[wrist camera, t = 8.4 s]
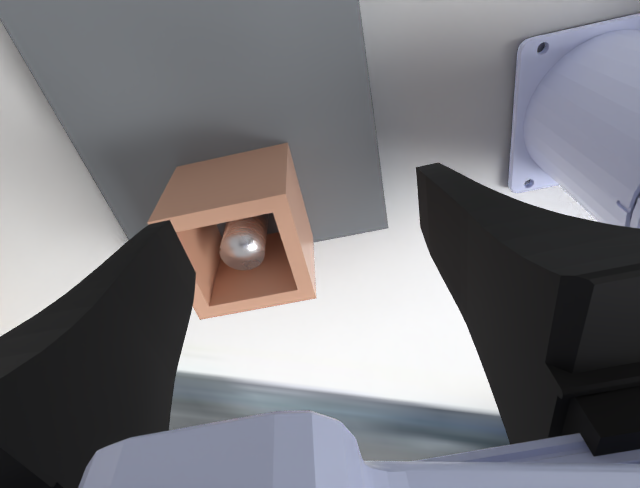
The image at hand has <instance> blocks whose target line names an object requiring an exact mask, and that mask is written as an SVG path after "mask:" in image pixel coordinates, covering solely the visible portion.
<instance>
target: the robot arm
mask: <svg viewBox="0 0 640 488" xmlns="http://www.w3.org/2000/svg"><path fill="white" fill-rule="evenodd" d="M543 42H545V47H544V49H543V50H542V51H541V52H539V53H537V49H538V46H539V45H540V44H541V43H543ZM416 172H417V186H418V200H419V213H420V227H421V230H422V233H423V236H424V239H425V242H426V244H427V247H428V250H429V252H430V255H431V257H432V259H433V261H434V263H435V265H436V267H437V268H438V270H439V272H440V274H441V276H442V278H443V280H444V282H445V284H446V285H447V287H448V289H449V291H450V293H451V295H452V297H453V299H454V300H455V302H456V304H457V306H458V308H459V310H460V312H461V314H462V316H463V318H464V320H465V322H466V324H467V327H468V329H469V332H470V334H471V337H472V340H473V342H474V345H475V347H476V350H477V352H478V355H479V357H480V360H481V363H482V366H483V368H484V371H485V374H486V376H487V379H488V382H489V384H490V387H491V390H492V393H493V396H494V398H495V401H496V404H497V407H498V410H499V413H500V415H501V418H502V421H503V424H504V427H505V430H506V433H507V436H508V439H509V442H510V445H505V446H499V447H493V448H487V449H481V450H475V451H469V452H463V453H457V454H451V455H445V456H439V457H433V458H427V459H421V460H415V461H363V459H362V457H361V454H360V450H359V447H358V443H357V440H356V438H355V437H354V436H353V435H352V433H351V432H350V431H349V430H348V429H347V428H346V427H345V425H344V424H343V423H342V422H340V421H338V420H337V419H334V418H331V417H328V416H325V415H322V414H319V413H316V412H312V411H309V410H308V411H275V412H270V413H264V414H258V415H253V416H247V417H242V418H236V419H230V420H225V421H219V422H214V423H208V424H202V425H197V426H191V427H186V428H180V429H174V430H169V422H170V412H171V404H172V396H173V389H174V381H175V376H176V371H177V366H178V362H179V358H180V354H181V350H182V347H183V343H184V339H185V335H186V331H187V327H188V323H189V319H190V315H191V311H192V306H193V302H194V293H195V281H196V272H195V270H194V268H193V266H192V264H191V262H190V260H189V258H188V256H187V254H186V252H185V250H184V248H183V246H182V244H181V242H180V240H179V238H178V236H177V234H176V232H175V230H174V228H173V226H172V224H171V222H170V220H167V221H162V222H157V223H153V224H149V225H148V226H146V227H145V228H143V229H142V230H141V231H139V232H138V233H137V234H136V235H135V236H133V237H132V238H131V239H130V240H129V241H128V242H126V243H125V244H124V245H123V246H122V247H121V248H120V249H119V250H117V251H116V252H115V253H114V254H113V255H112V256H111V257H109V258H108V259H107V260H106V261H105V262H104V263H103V264H101V265H100V266H99V267H98V268H97V269H96V270H94V271H93V272H92V273H91V274H89V275H88V276H87V277H86V278H85V279H83V280H82V281H81V282H80V283H79V284H77V285H76V286H75V287H74V288H72V289H71V290H70V291H69V292H67V293H66V294H65V295H63V296H62V297H61V298H59V299H58V300H56V301H55V302H54V303H52V304H51V305H49V306H48V307H46V308H45V309H44V310H42V311H41V312H39V313H38V314H36V315H35V316H33V317H32V318H30V319H28V320H27V321H25V322H24V323H22V324H20V325H19V326H17V327H15V328H14V329H12V330H10V331H9V332H7V333H5V334H4V335H2V336H1V337H0V488H640V13H638V14H633V15H629V16H625V17H620V18H616V19H611V20H607V21H602V22H598V23H593V24H589V25H584V26H580V27H575V28H571V29H566V30H562V31H557V32H553V33H548V34H544V35H539V36H535V37H530V38H528V39H525V40H524V41H523V42H522V43H521V44H520V46H519V47H518V51H517V64H516V78H515V92H514V107H513V121H512V136H511V150H510V164H509V179H508V187H509V188H510V189H511V191H512V192H514V193H521V192H526V191H531V190H537V189H542V188H547V187H552V186H557V185H560V186H561V187H562V188H563V189H564V190H565V191H566V192H567V193H568V194H569V195H570V196H572V197H573V198H574V199H575V200H576V201H577V202H578V203H579V204H580V205H581V206H582V207H583V208H584V209H585V210H586V211H588V212H589V213H590V214H591V215H592V216H593V217H594V218H595V219H596V220H597V221H598V222H595V221H590V220H586V219H581V218H577V217H572V216H568V215H564V214H560V213H556V212H553V211H549V210H546V209H543V208H540V207H536V206H533V205H530V204H527V203H524V202H522V201H519V200H516V199H514V198H511V197H509V196H506V195H504V194H501V193H499V192H497V191H495V190H492V189H490V188H488V187H486V186H484V185H482V184H480V183H477V182H475V181H473V180H471V179H470V178H468V177H466V176H464V175H462V174H460V173H458V172H456V171H454V170H452V169H450V168H448V167H446V166H444V165H442V164H440V163H434V164H430V165H425V166H420V167H416ZM529 179H531V181H530V182H529V183H528V184H526V185H524V184H525V182H526V181H527V180H529Z"/></svg>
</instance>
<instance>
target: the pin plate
mask: <svg viewBox="0 0 640 488" xmlns="http://www.w3.org/2000/svg"><path fill="white" fill-rule="evenodd" d="M0 20H1V22H2V23H3V25H4V27H5V28H6V30H7V32H8V33H9V35H10V37H11V39H12V40H13V42H14V44H15V45H16V47H17V49H18V51H19V52H20V54H21V56H22V57H23V59H24V61H25V63H26V64H27V66H28V68H29V69H30V71H31V73H32V75H33V76H34V78H35V80H36V81H37V83H38V85H39V87H40V88H41V90H42V92H43V93H44V95H45V97H46V99H47V100H48V102H49V104H50V105H51V107H52V109H53V111H54V112H55V114H56V116H57V117H58V119H59V121H60V123H61V124H62V126H63V128H64V129H65V131H66V133H67V135H68V136H69V138H70V140H71V141H72V143H73V145H74V147H75V148H76V150H77V152H78V153H79V155H80V157H81V159H82V160H83V162H84V164H85V165H86V167H87V169H88V171H89V172H90V174H91V176H92V177H93V179H94V181H95V183H96V184H97V186H98V188H99V189H100V191H101V193H102V195H103V196H104V198H105V200H106V201H107V203H108V205H109V207H110V208H111V210H112V212H113V213H114V215H115V217H116V219H117V220H118V222H119V224H120V225H121V227H122V229H123V231H124V232H125V234H126V236H127V237H128V239H129V240H130V239H131V238H132V237H133V236H135V235H136V234H137V233H138V232H139V231H141V230H142V229H143V228H145V227H146V226H148V223H147V222H148V220H149V218H150V216H151V214H152V213H153V211H154V209H155V207H156V205H157V203H158V201H159V199H160V197H161V195H162V194H163V192H164V190H165V188H166V186H167V184H168V182H169V180H170V178H171V176H172V175H173V173H174V171H175V169H176V167H178V166H182V165H187V164H191V163H196V162H201V161H205V160H210V159H214V158H219V157H224V156H228V155H233V154H237V153H242V152H247V151H251V150H256V149H260V148H265V147H270V146H274V145H279V144H283V143H288V145H289V149H290V152H291V156H292V160H293V164H294V167H295V171H296V175H297V179H298V182H299V186H300V190H301V193H302V197H303V201H304V205H305V208H306V212H307V216H308V220H309V223H310V227H311V231H312V235H313V242H319V241H324V240H329V239H334V238H339V237H345V236H350V235H355V234H360V233H365V232H371V231H376V230H381V229H386V228H388V222H387V214H386V206H385V199H384V191H383V183H382V176H381V168H380V160H379V152H378V145H377V137H376V129H375V122H374V114H373V106H372V98H371V91H370V83H369V75H368V68H367V60H366V52H365V45H364V37H363V29H362V21H361V14H360V6H359V0H0ZM216 225H217V228H218V230H219V232H220V235H221V237H222V242H221V246H220V257H221V259H222V260H223V262H224V263H225V264H226V265H228V266H229V267H231V268H233V269H236V270H251V269H254V268H256V267H257V266H259V265H260V264H261V263H262V261H263V259H264V256H265V246H266V236H267V234H272V233H277V232H279V230H278V227H277V224H276V221H275V218H274V214H273V213H268V214H263V215H258V216H254V217H249V218H244V219H239V220H234V221H229V222H224V223H219V224H216Z"/></svg>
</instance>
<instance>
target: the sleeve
mask: <svg viewBox="0 0 640 488" xmlns="http://www.w3.org/2000/svg"><path fill="white" fill-rule="evenodd" d="M268 213H273V214H274V218H275V221H276V224H277V227H278V230H279V232H277V233H272V234H267V236H266V246H265V256H264V259H263V261H262V263H261V264H260V265H259V266H257V267H256V268H254V269H251V270H236V269H233V268H231V267H229V266H228V265H226V264H225V263H224V262H223V260H222V259H221V257H220V246H221V242H222V237H221V235H220V232H219V230H218V228H217V225H216V224H219V223H224V222H229V221H234V220H239V219H244V218H249V217H254V216H258V215H263V214H268ZM167 220H170V222H171V224H172V226H173V228H174V230H175V232H176V234H177V236H178V238H179V240H180V242H181V244H182V246H183V248H184V250H185V252H186V254H187V256H188V258H189V260H190V262H191V264H192V266H193V268H194V270H195V272H196V281H195V293H194V302H193V308H194V310H195V311H196V313H197V315H198V317H199V319H200V320H201V319H206V318H212V317H217V316H223V315H228V314H234V313H239V312H244V311H250V310H255V309H261V308H266V307H271V306H277V305H282V304H288V303H293V302H299V301H304V300H309V299H315V298H316V283H315V265H314V247H313V235H312V231H311V227H310V223H309V220H308V216H307V212H306V208H305V205H304V201H303V197H302V193H301V190H300V186H299V182H298V179H297V175H296V171H295V167H294V164H293V160H292V156H291V152H290V149H289V145H288V143H283V144H279V145H274V146H270V147H265V148H260V149H256V150H251V151H247V152H242V153H237V154H233V155H228V156H224V157H219V158H214V159H210V160H205V161H201V162H196V163H191V164H187V165H182V166H178V167H176V169H175V171H174V173H173V175H172V176H171V178H170V180H169V182H168V184H167V186H166V188H165V190H164V192H163V194H162V195H161V197H160V199H159V201H158V203H157V205H156V207H155V209H154V211H153V213H152V214H151V216H150V218H149V220H148V222H147V223H148V225H149V224H153V223H157V222H162V221H167Z"/></svg>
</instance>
